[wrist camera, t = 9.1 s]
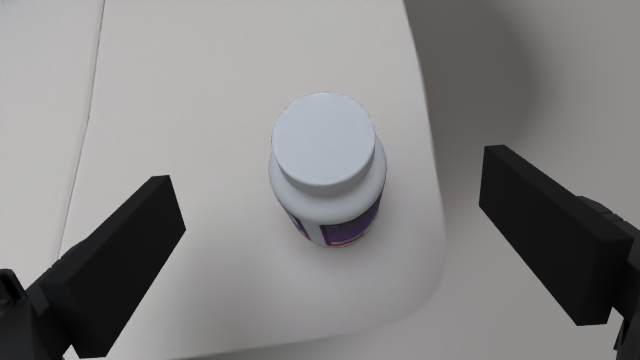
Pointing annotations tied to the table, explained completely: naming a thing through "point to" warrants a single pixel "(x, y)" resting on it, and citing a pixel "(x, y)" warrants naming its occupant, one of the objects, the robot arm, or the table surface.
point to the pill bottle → (327, 168)
